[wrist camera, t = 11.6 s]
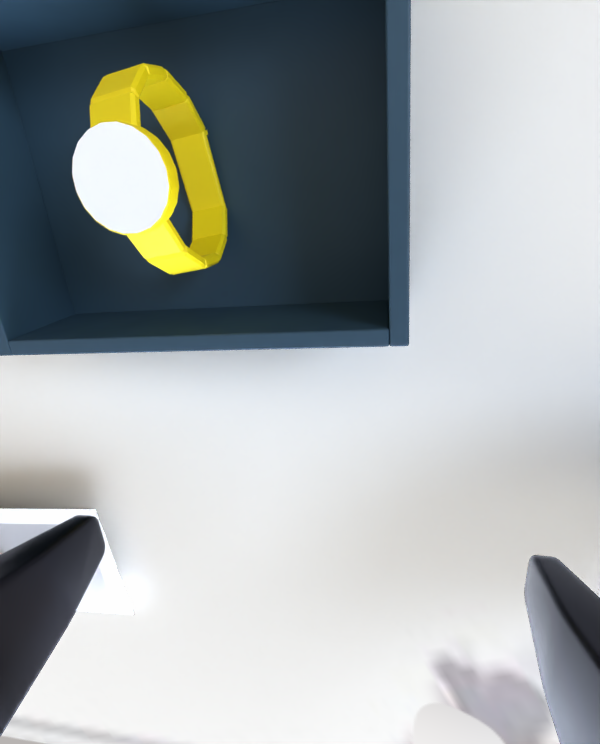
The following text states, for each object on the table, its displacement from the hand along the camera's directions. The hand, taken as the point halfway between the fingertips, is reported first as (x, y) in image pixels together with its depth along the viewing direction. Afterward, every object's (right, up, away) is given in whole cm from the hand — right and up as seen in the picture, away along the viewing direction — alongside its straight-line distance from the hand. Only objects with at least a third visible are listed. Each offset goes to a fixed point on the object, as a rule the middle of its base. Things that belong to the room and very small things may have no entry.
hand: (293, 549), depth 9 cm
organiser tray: (-4, +11, +8) cm, 14 cm away
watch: (-4, +11, +8) cm, 14 cm away
